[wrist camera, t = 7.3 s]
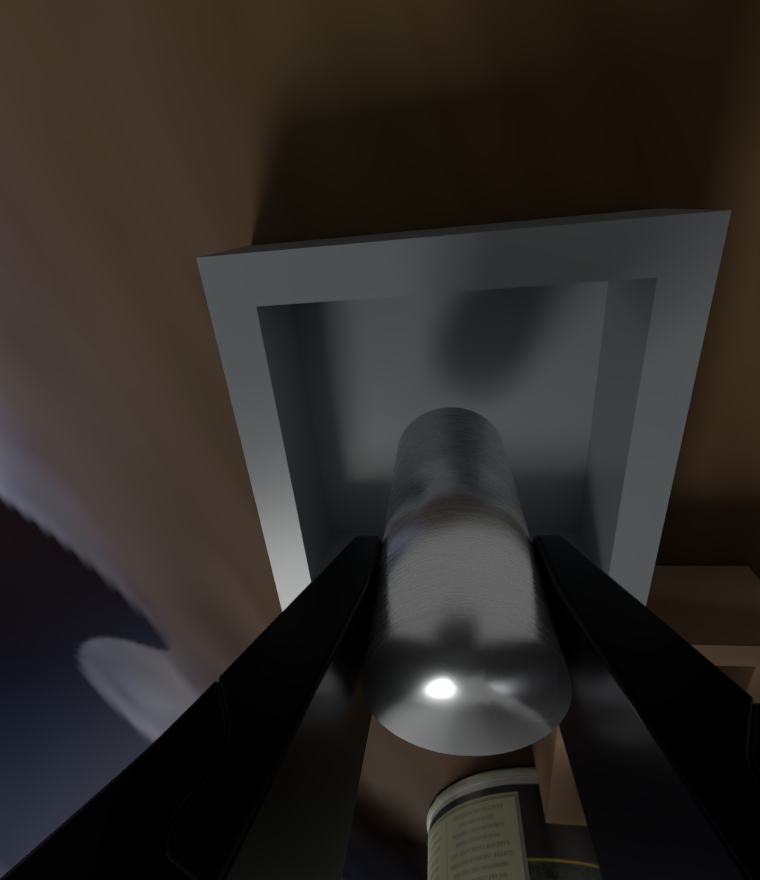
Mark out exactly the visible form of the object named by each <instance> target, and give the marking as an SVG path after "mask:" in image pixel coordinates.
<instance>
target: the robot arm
mask: <svg viewBox="0 0 760 880" xmlns="http://www.w3.org/2000/svg"><path fill="white" fill-rule="evenodd" d="M532 546H533V550H534V553H535V557H536V560H537V564H538V567H539V571H540V574H541V578H542V581H543V585H544V588H545V592H546V595H547V599H548V602H549V606H550V609H551V613H552V616H553V620H554V623H555V627H556V630H557V634H558V637H559V641H560V644H561V648H562V651H563V655H564V658H565V662H566V665H567V669H568V672H569V676H570V679H571V685H572V699H571V703H570V707H569V709H568V711H567V714H566V716H565V717H564V718H563V720H562V721H561V723H560V724H559V728H560V731H561V735H562V738H563V742H564V746H565V749H566V753H567V756H568V760H569V763H570V767H571V770H572V774H573V777H574V781H575V784H576V788H577V791H578V795H579V798H580V802H581V805H582V809H583V813H584V816H585V820H586V823H587V827H588V830H589V834H590V837H591V841H592V844H593V848H594V851H595V855H596V858H597V862H598V865H599V869H600V872H601V876H602V879H603V880H760V703H755V704H754V699H753V697H752V696H751V695H750V694H748V693H747V692H746V691H745V690H744V689H742V688H741V687H740V686H739V685H738V684H737V683H735V682H734V681H733V680H732V679H731V678H729V677H728V676H727V675H726V674H725V673H724V672H722V671H721V670H720V669H719V668H718V667H716V666H715V665H714V664H713V663H712V662H711V661H709V660H708V659H707V658H706V657H705V656H703V655H702V654H701V653H700V652H699V651H698V650H696V649H695V648H694V647H693V646H692V645H690V644H689V643H688V642H687V641H686V640H685V639H683V638H682V637H681V636H680V635H679V634H677V633H676V632H675V631H674V630H673V629H672V628H670V627H669V626H668V625H667V624H666V623H664V622H663V621H662V620H661V619H660V618H659V617H657V616H656V615H655V614H654V613H653V612H651V611H650V610H649V609H648V608H647V607H646V606H644V605H643V604H642V603H641V602H640V601H638V600H637V599H636V598H635V597H634V596H633V595H631V594H630V593H629V592H628V591H627V590H625V589H624V588H623V587H622V586H621V585H620V584H618V583H617V582H616V581H615V580H614V579H612V578H611V577H610V576H609V575H608V574H607V573H605V572H604V571H603V570H602V569H601V568H599V567H598V566H597V565H596V564H595V563H594V562H592V561H591V560H590V559H589V558H588V557H586V556H585V555H584V554H583V553H582V552H581V551H579V550H578V549H577V548H576V547H575V546H573V545H572V544H571V543H570V542H569V541H568V540H566V539H565V538H564V537H563V536H561V535H559V534H536V535H535V536H534V537H533V540H532ZM381 550H382V540H381V538H380V536H379V535H357V536H356V537H354V538H353V539H352V540H351V541H350V542H349V543H348V544H347V545H346V547H345V548H344V549H343V550H342V551H341V552H340V553H339V554H338V555H337V556H336V557H335V558H334V559H333V560H332V561H331V562H330V563H329V564H328V565H327V566H326V567H325V568H324V569H323V570H322V571H321V572H320V573H319V574H318V575H317V577H316V578H315V579H314V580H313V581H312V582H311V583H310V584H309V585H308V586H307V587H306V588H305V589H304V590H303V591H302V592H301V593H300V594H299V595H298V596H297V597H296V598H295V599H294V600H293V601H292V602H291V603H290V604H289V605H288V606H287V608H286V609H285V610H284V611H283V612H282V613H281V614H280V615H279V616H278V617H277V618H276V619H275V620H274V621H273V622H272V623H271V624H270V625H269V626H268V627H267V628H266V629H265V630H264V631H263V632H262V633H261V634H260V635H259V636H258V637H257V639H256V640H255V641H254V642H253V643H252V644H251V645H250V646H249V647H248V648H247V649H246V650H245V651H244V652H243V653H242V654H241V655H240V656H239V657H238V658H237V659H236V660H235V661H234V662H233V663H232V664H231V665H230V666H229V667H228V668H227V670H226V671H225V672H224V673H223V674H222V675H221V676H220V677H219V682H214V683H213V684H212V685H211V686H210V687H209V688H208V689H207V690H206V691H205V692H204V693H203V694H202V695H201V696H200V697H199V698H198V699H197V700H196V701H195V702H194V703H193V704H192V705H191V706H190V707H189V708H188V709H187V710H186V711H185V712H184V713H183V714H182V715H181V716H180V717H179V718H178V719H177V720H176V721H175V722H174V723H173V724H172V725H171V726H170V727H169V728H168V729H167V730H166V731H165V732H164V733H163V734H162V735H161V736H160V737H159V738H158V739H157V740H155V741H154V742H153V743H152V744H151V745H150V746H149V747H148V748H147V749H146V750H145V751H143V752H142V753H141V754H140V755H139V756H138V757H137V758H136V759H135V760H134V761H133V762H131V763H130V764H129V765H128V766H127V767H126V768H125V769H124V770H123V771H122V772H121V773H119V774H118V775H117V776H116V777H115V778H114V779H113V780H111V781H110V782H109V783H108V784H107V785H106V786H105V787H104V788H102V789H101V790H100V791H99V792H98V793H97V794H95V795H94V796H93V797H92V798H91V799H90V800H89V801H88V802H87V803H85V804H84V805H83V806H82V807H81V808H80V809H78V810H77V811H76V812H75V813H74V814H73V815H72V816H70V817H69V818H68V819H67V820H66V821H65V822H64V823H63V824H62V825H60V826H59V827H58V828H57V829H56V830H55V831H54V832H52V833H51V834H50V835H49V836H48V837H47V838H45V839H44V840H43V841H42V842H41V843H40V844H39V845H38V846H36V847H35V848H34V849H33V850H32V851H31V852H30V853H29V854H27V855H26V856H25V857H24V858H23V859H22V860H20V861H19V862H18V863H17V864H16V865H15V866H14V867H13V868H11V869H10V870H9V871H8V872H7V873H6V874H5V875H3V876H2V877H1V878H0V880H341V877H342V871H343V866H344V860H345V855H346V850H347V844H348V839H349V834H350V828H351V823H352V818H353V812H354V807H355V801H356V796H357V791H358V785H359V780H360V775H361V769H362V764H363V759H364V753H365V748H366V743H367V737H368V732H369V726H370V721H371V716H372V712H371V711H370V709H369V708H368V706H367V704H366V702H365V699H364V696H363V692H362V683H361V680H362V673H363V667H364V660H365V654H366V647H367V641H368V634H369V628H370V621H371V615H372V608H373V602H374V595H375V589H376V582H377V576H378V569H379V563H380V556H381Z"/></svg>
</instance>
